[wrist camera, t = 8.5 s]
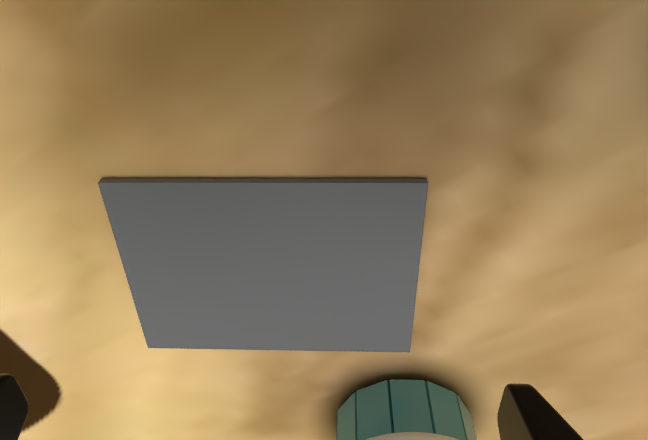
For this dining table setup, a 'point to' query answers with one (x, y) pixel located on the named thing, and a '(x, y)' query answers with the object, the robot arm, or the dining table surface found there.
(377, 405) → the bowl
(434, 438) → the lid
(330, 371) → the dining table surface
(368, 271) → the mat
